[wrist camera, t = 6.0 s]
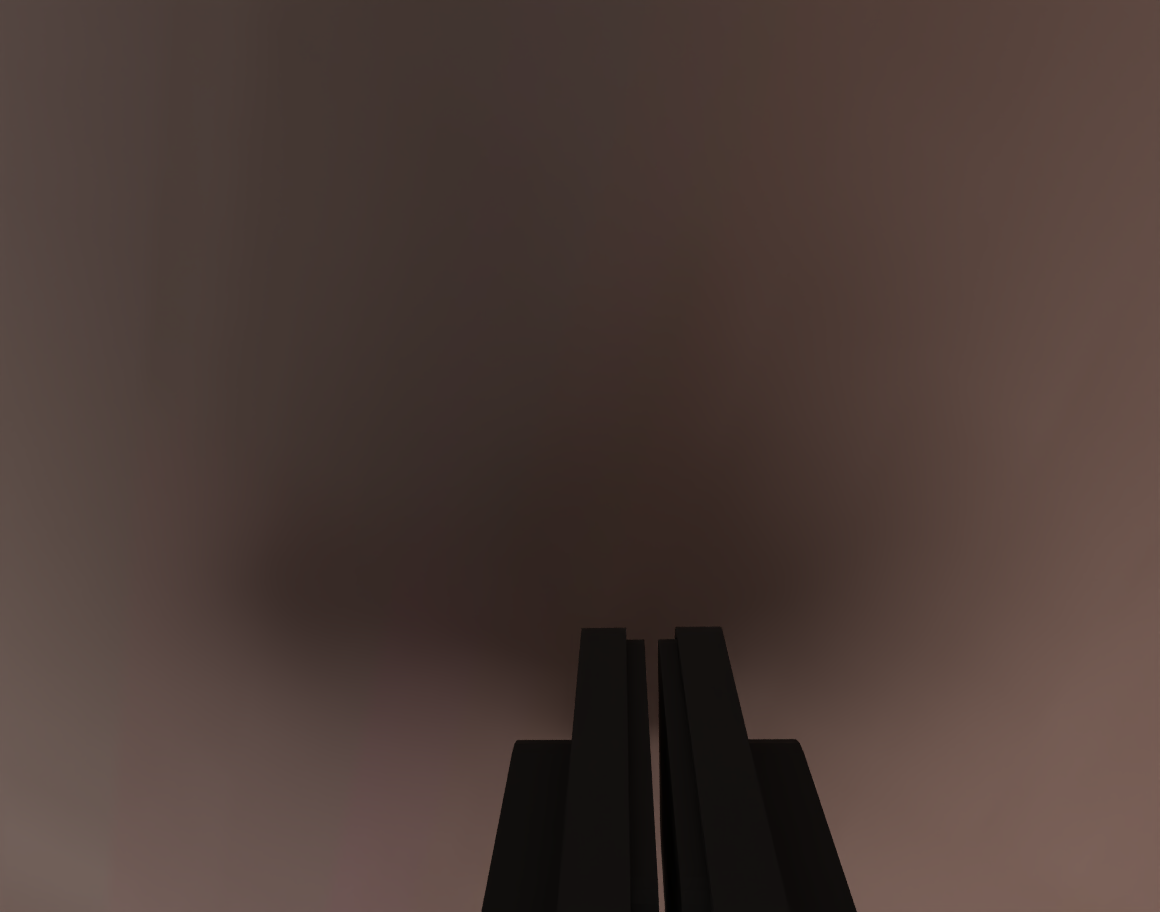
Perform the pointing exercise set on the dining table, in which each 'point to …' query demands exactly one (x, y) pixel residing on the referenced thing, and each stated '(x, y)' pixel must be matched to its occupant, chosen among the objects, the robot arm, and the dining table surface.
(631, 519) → the dining table surface
